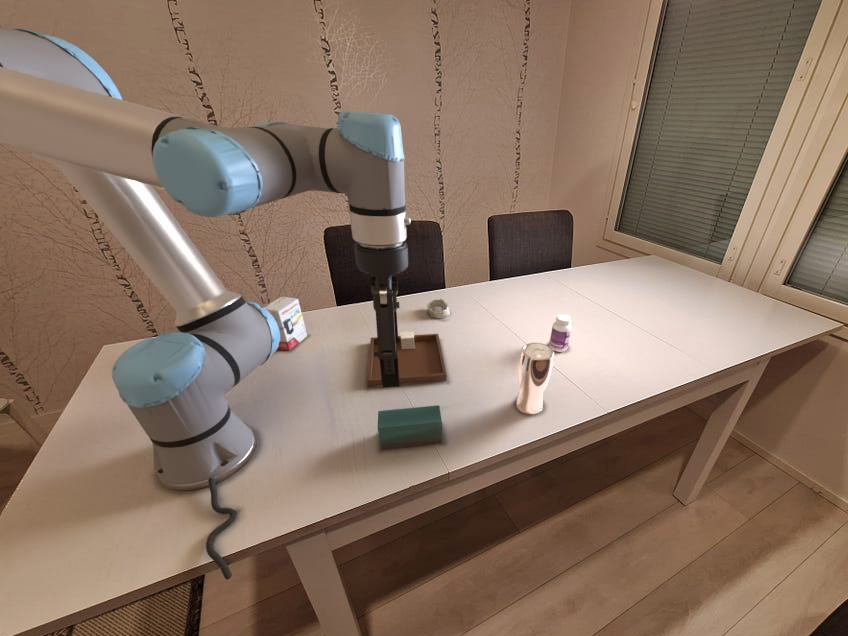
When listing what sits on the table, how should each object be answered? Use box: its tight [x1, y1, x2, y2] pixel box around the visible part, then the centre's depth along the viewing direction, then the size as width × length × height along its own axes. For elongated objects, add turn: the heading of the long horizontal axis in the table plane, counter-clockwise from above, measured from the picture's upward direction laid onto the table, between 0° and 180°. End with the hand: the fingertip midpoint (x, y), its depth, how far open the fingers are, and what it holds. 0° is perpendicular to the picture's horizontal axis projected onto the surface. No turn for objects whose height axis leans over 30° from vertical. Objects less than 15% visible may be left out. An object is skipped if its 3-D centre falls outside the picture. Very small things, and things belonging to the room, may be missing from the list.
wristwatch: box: [426, 298, 451, 319], centre depth 118 cm, size 9×6×5 cm
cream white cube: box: [400, 330, 415, 349], centre depth 101 cm, size 4×4×4 cm
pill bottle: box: [548, 314, 573, 353], centre depth 104 cm, size 5×5×10 cm
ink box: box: [262, 296, 308, 352], centre depth 99 cm, size 9×5×12 cm, turn 168°
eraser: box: [377, 405, 443, 451], centre depth 73 cm, size 5×12×6 cm, turn 101°
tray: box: [366, 333, 448, 388], centre depth 96 cm, size 20×19×2 cm
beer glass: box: [515, 342, 555, 415], centre depth 81 cm, size 7×7×15 cm
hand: (391, 361), depth 65 cm, fingers open, 13 cm apart
